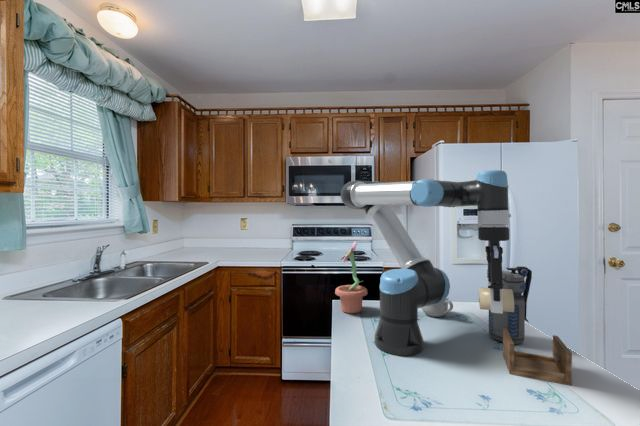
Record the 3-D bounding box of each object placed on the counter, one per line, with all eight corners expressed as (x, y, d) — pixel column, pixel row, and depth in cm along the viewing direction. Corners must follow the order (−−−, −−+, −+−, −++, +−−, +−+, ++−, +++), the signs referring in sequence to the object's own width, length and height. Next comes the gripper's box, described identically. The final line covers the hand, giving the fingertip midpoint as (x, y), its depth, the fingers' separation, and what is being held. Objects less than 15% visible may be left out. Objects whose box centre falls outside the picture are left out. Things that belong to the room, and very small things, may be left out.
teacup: (415, 311, 126) (415, 292, 126) (436, 309, 129) (436, 290, 129) (437, 323, 113) (437, 302, 113) (460, 320, 116) (460, 299, 116)
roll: (479, 313, 83) (479, 295, 81) (478, 300, 88) (478, 283, 86) (514, 317, 79) (515, 298, 77) (511, 302, 84) (511, 285, 82)
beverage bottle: (539, 347, 93) (540, 267, 93) (494, 344, 95) (494, 266, 95) (522, 333, 103) (522, 262, 103) (481, 331, 105) (481, 261, 105)
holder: (509, 373, 78) (509, 343, 78) (502, 355, 88) (503, 328, 88) (571, 385, 73) (571, 353, 73) (557, 364, 83) (557, 335, 83)
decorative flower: (337, 304, 136) (337, 238, 136) (367, 305, 134) (367, 239, 134) (333, 315, 121) (333, 242, 121) (367, 317, 119) (367, 242, 119)
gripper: (514, 227, 73) (517, 321, 73) (504, 225, 90) (506, 301, 90) (479, 227, 76) (482, 317, 76) (476, 225, 93) (478, 299, 93)
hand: (495, 308), depth 83 cm, fingers closed on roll, 6 cm apart
